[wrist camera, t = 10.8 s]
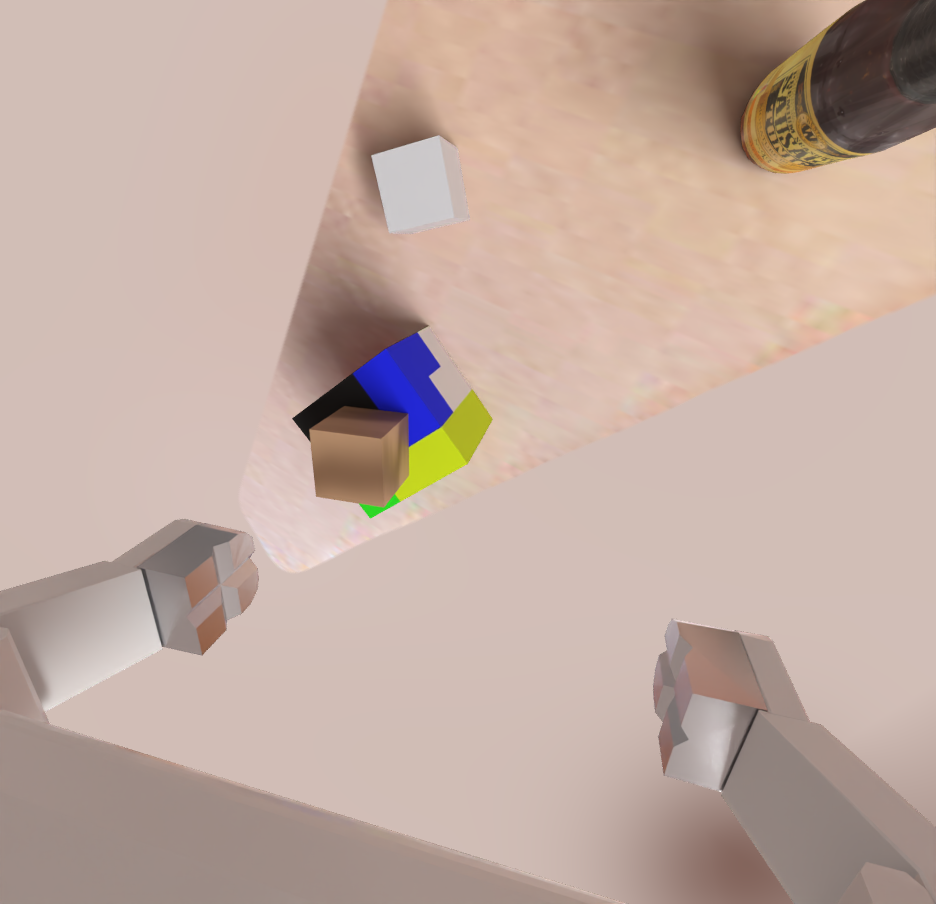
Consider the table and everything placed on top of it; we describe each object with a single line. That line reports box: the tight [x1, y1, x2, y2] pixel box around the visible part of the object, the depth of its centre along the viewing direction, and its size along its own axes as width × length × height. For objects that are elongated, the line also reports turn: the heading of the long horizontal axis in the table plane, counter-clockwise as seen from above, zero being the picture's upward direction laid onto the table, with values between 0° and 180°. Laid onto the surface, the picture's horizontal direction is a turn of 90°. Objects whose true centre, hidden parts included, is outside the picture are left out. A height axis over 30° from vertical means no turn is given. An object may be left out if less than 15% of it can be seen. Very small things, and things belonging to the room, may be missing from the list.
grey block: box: [371, 135, 470, 234], centre depth 36 cm, size 5×5×5 cm
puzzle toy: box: [292, 326, 493, 518], centre depth 41 cm, size 10×10×10 cm
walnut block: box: [309, 406, 409, 507], centre depth 34 cm, size 5×5×5 cm
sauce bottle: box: [741, 0, 936, 174], centre depth 23 cm, size 6×6×20 cm
